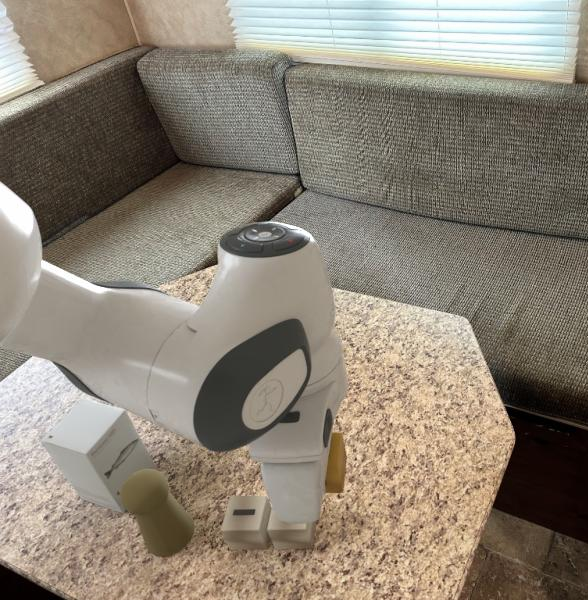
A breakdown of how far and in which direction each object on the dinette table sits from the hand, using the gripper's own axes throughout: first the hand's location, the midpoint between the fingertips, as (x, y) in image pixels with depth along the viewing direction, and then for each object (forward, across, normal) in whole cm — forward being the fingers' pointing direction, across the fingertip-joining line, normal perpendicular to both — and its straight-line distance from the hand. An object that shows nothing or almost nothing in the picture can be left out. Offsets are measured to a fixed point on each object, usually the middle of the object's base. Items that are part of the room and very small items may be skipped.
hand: (322, 466), depth 66 cm
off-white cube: (+13, 0, -11) cm, 17 cm away
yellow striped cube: (+2, 0, 0) cm, 2 cm away
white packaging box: (+14, -8, -30) cm, 34 cm away
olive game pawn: (+14, 0, -21) cm, 25 cm away
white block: (+13, 0, -5) cm, 14 cm away
